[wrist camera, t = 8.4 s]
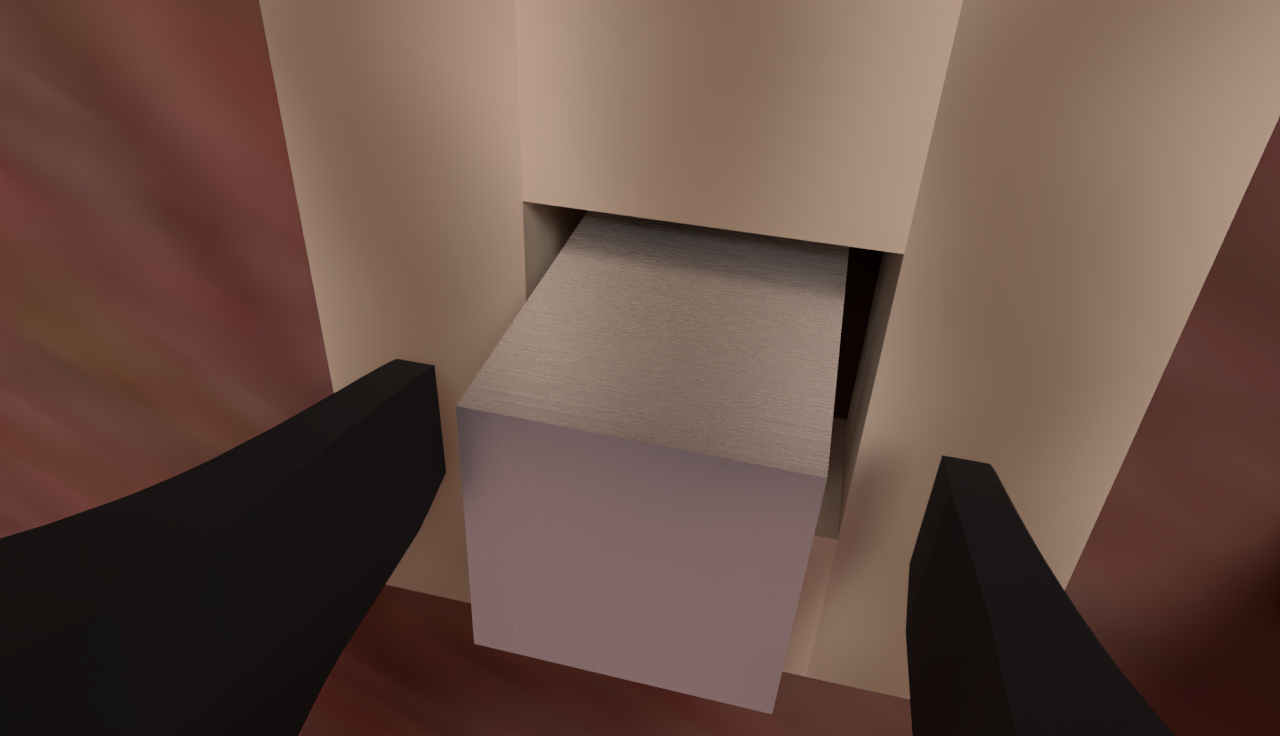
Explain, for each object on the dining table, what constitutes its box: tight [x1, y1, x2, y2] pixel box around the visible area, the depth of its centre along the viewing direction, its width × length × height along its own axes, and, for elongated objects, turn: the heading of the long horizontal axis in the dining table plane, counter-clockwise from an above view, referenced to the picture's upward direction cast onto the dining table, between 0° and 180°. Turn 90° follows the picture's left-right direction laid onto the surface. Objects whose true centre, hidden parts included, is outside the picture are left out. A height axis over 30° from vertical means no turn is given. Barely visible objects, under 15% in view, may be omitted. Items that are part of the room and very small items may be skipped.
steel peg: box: [456, 210, 849, 714], centre depth 14 cm, size 4×4×8 cm
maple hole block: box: [259, 0, 1280, 699], centre depth 16 cm, size 13×13×4 cm
